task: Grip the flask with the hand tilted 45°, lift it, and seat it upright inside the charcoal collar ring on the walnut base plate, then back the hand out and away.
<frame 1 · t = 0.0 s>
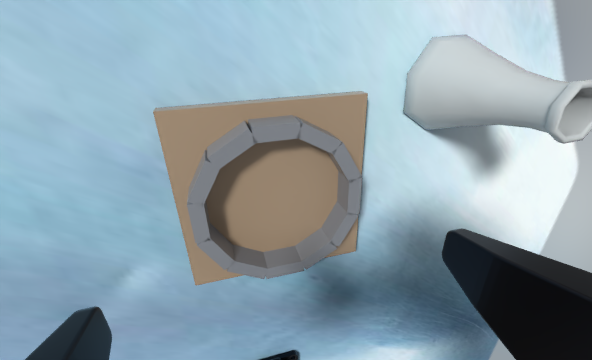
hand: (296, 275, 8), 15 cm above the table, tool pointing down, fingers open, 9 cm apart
flask: (440, 83, 23), on the table
duct collar: (273, 190, 23), on the table
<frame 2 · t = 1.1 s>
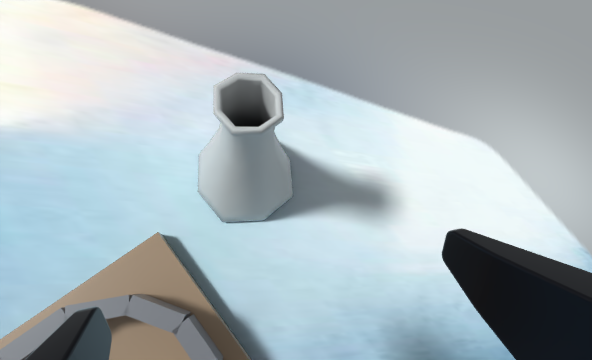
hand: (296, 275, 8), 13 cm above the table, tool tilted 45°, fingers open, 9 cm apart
flask: (245, 177, 23), on the table
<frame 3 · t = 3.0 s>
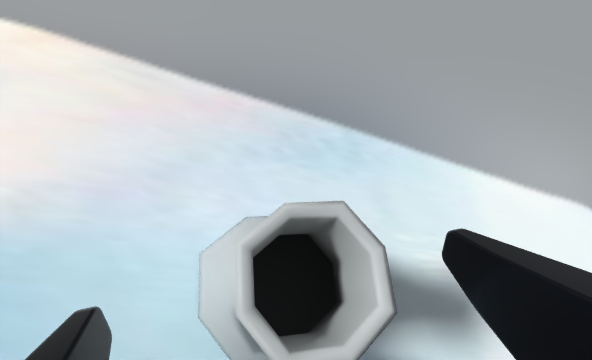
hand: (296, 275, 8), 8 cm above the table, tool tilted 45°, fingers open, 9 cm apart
flask: (270, 284, 15), on the table
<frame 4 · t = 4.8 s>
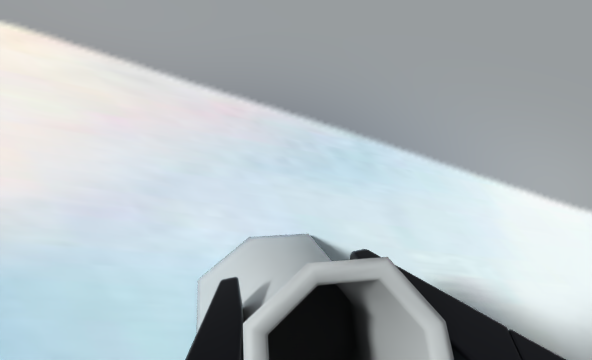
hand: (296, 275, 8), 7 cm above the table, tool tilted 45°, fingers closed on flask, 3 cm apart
flask: (276, 313, 14), on the table, touching gripper
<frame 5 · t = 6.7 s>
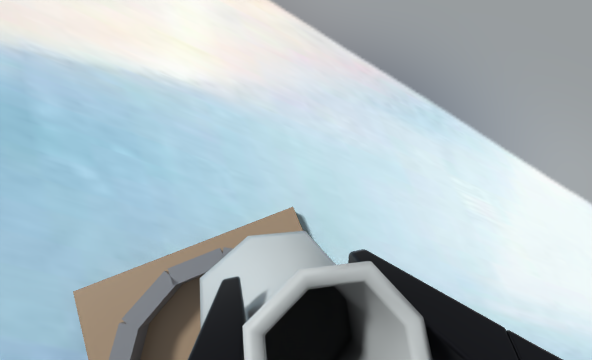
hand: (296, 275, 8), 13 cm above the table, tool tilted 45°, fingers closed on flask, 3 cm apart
flask: (276, 307, 14), point 6 cm above the table, touching gripper
duct collar: (231, 352, 18), on the table
when the fingers open (9 cm above the table, at t = 8.7 s): flask stays where it is, resting on duct collar.
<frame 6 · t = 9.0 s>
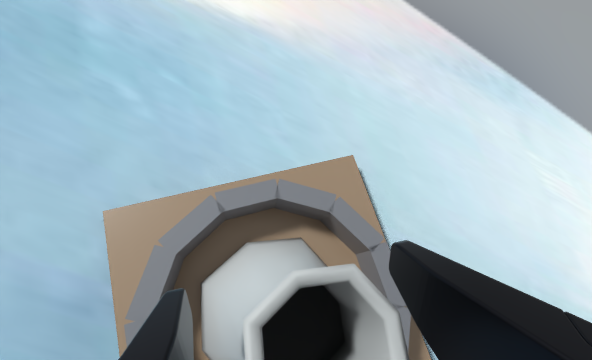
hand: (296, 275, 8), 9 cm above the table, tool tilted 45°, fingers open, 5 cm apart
flask: (274, 310, 15), point 1 cm above the table, touching duct collar
duct collar: (272, 308, 16), on the table
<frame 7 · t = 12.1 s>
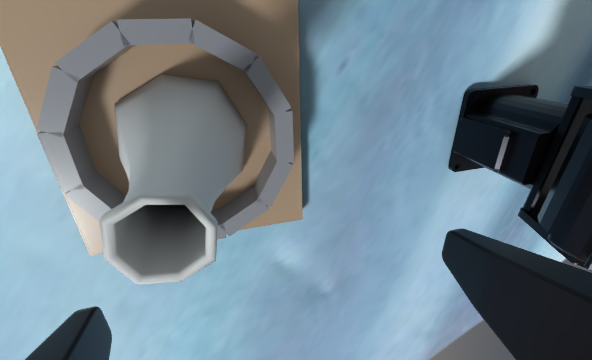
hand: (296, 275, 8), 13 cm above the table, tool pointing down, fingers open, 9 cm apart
flask: (185, 137, 17), point 1 cm above the table, touching duct collar
duct collar: (185, 133, 18), on the table
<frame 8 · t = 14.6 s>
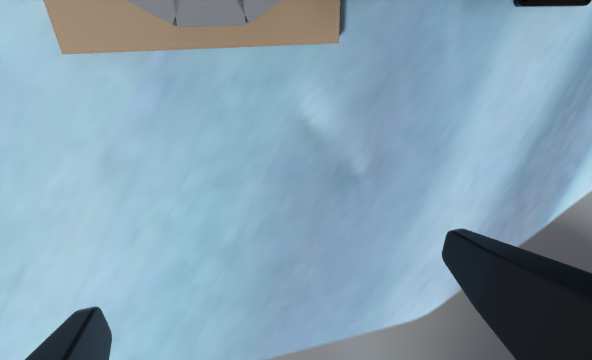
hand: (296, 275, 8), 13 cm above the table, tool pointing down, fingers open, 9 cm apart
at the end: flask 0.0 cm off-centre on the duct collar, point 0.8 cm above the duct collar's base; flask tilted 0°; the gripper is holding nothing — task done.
